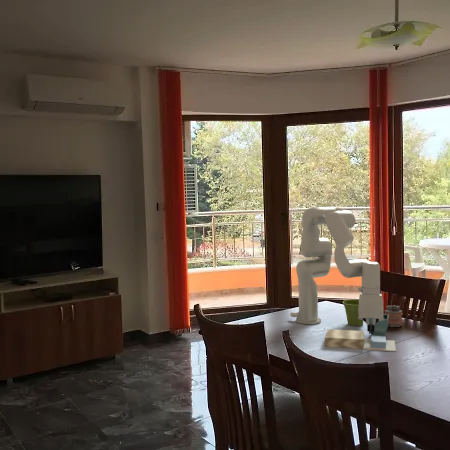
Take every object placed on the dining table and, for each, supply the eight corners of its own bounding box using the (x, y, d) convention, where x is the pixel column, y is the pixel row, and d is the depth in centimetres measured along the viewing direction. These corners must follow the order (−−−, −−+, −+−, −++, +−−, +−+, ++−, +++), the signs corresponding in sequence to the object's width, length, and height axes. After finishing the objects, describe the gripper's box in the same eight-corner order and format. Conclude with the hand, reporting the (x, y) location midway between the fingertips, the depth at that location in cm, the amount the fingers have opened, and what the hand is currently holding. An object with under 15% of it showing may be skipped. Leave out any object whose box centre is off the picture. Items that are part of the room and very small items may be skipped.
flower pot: (388, 333, 235) (388, 314, 234) (388, 339, 226) (388, 319, 226) (369, 332, 237) (368, 313, 237) (367, 337, 229) (367, 317, 228)
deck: (324, 346, 218) (324, 337, 217) (327, 337, 230) (327, 329, 230) (363, 349, 213) (363, 339, 213) (364, 340, 225) (364, 331, 225)
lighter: (401, 324, 248) (401, 304, 248) (402, 326, 245) (402, 306, 244) (384, 324, 249) (384, 304, 248) (385, 326, 246) (385, 306, 245)
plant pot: (345, 320, 259) (345, 298, 258) (369, 322, 254) (369, 300, 253) (340, 326, 249) (340, 303, 248) (365, 328, 243) (364, 305, 243)
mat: (364, 349, 212) (364, 348, 212) (364, 339, 226) (364, 338, 226) (395, 351, 209) (395, 350, 209) (394, 341, 222) (394, 340, 222)
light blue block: (386, 342, 212) (386, 348, 212) (385, 336, 221) (385, 341, 221) (371, 341, 214) (371, 347, 214) (371, 335, 222) (371, 341, 223)
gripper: (352, 292, 215) (352, 334, 217) (389, 293, 211) (389, 336, 212) (353, 288, 222) (353, 329, 224) (389, 289, 218) (389, 331, 219)
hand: (370, 333), depth 218 cm, fingers closed
